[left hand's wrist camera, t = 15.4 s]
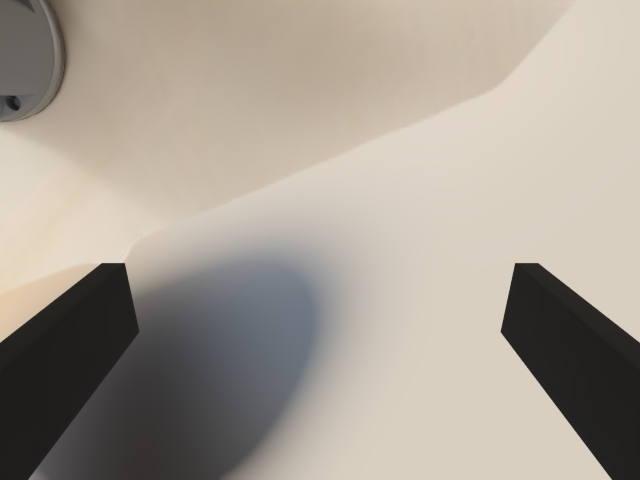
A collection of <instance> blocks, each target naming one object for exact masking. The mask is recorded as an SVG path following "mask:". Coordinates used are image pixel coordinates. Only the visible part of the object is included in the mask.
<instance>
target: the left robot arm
mask: <svg viewBox="0 0 640 480" xmlns="http://www.w3.org/2000/svg"><path fill="white" fill-rule="evenodd" d="M64 65H65V50H64V42H63V36H62V32H61V29H60V25H59V22H58V20H57V17H56V14H55V12H54V10H53V8H52V6H51V4H50V2H49V0H0V122H7V121H16V120H21V119H25V118H28V117H30V116H33V115H35V114H36V113H38V112H40V111H41V110H42V109H43V108H45V107H46V106H47V105H48V104H49V103H50V102H51V100H52V99H53V98H54V96H55V94H56V93H57V91H58V89H59V86H60V84H61V81H62V77H63V73H64ZM138 333H139V328H138V323H137V319H136V314H135V309H134V305H133V300H132V295H131V290H130V286H129V281H128V276H127V272H126V267H125V263H102V264H100V265H99V266H98V267H96V268H95V269H94V270H93V271H91V272H90V273H89V274H88V275H86V276H85V277H84V278H82V279H81V280H80V281H79V282H77V283H76V284H75V285H73V286H72V287H71V288H70V289H68V290H67V291H66V292H65V293H63V294H62V295H61V296H59V297H58V298H57V299H56V300H54V301H53V302H52V303H50V304H49V305H48V306H47V307H45V308H44V309H43V310H42V311H40V312H39V313H38V314H36V315H35V316H34V317H33V318H31V319H30V320H29V321H28V322H26V323H25V324H24V325H22V326H21V327H20V328H18V329H17V330H16V331H15V332H13V333H12V334H11V335H10V336H8V337H7V338H6V339H4V340H3V341H2V342H1V343H0V480H28V479H29V478H30V476H31V475H32V474H33V472H34V471H35V470H36V468H37V467H38V466H39V464H40V463H41V462H42V460H43V459H44V458H45V456H46V455H47V454H48V452H49V451H50V450H51V449H52V447H53V446H54V445H55V443H56V442H57V441H58V439H59V438H60V437H61V435H62V434H63V433H64V431H65V430H66V429H67V427H68V426H69V425H70V423H71V422H72V421H73V419H74V418H75V417H76V415H77V414H78V413H79V411H80V410H81V409H82V407H83V406H84V405H85V403H86V402H87V401H88V399H89V398H90V397H91V395H92V394H93V393H94V391H95V390H96V389H97V387H98V386H99V385H100V383H101V382H102V381H103V380H104V378H105V377H106V375H107V374H108V373H109V372H110V370H111V369H112V368H113V366H114V365H115V364H116V362H117V361H118V360H119V358H120V357H121V356H122V354H123V353H124V352H125V350H126V349H127V348H128V346H129V345H130V344H131V342H132V341H133V340H134V338H135V337H136V336H137V334H138ZM501 333H502V334H503V336H504V337H505V338H506V340H507V341H508V342H509V344H510V345H511V346H512V348H513V349H514V350H515V352H516V353H517V354H518V356H519V357H520V358H521V360H522V361H523V362H524V364H525V365H526V366H527V368H528V369H529V370H530V372H531V373H532V374H533V376H534V377H535V378H536V380H537V381H538V382H539V383H540V385H541V386H542V388H543V389H544V390H545V392H546V393H547V394H548V395H549V397H550V398H551V399H552V401H553V402H554V403H555V405H556V406H557V407H558V409H559V410H560V411H561V413H562V414H563V415H564V417H565V418H566V419H567V421H568V422H569V423H570V425H571V426H572V427H573V429H574V430H575V431H576V433H577V434H578V435H579V437H580V438H581V439H582V441H583V442H584V443H585V444H586V446H587V447H588V448H589V450H590V451H591V452H592V454H593V455H594V456H595V458H596V459H597V460H598V462H599V463H600V464H601V466H602V467H603V468H604V470H605V471H606V472H607V474H608V475H609V476H610V478H611V479H612V480H640V343H639V342H638V341H637V340H636V339H634V338H633V337H632V336H630V335H629V334H628V333H627V332H625V331H624V330H623V329H622V328H620V327H619V326H618V325H616V324H615V323H614V322H613V321H611V320H610V319H609V318H607V317H606V316H605V315H604V314H602V313H601V312H600V311H599V310H597V309H596V308H595V307H593V306H592V305H591V304H590V303H588V302H587V301H586V300H584V299H583V298H582V297H581V296H579V295H578V294H577V293H576V292H574V291H573V290H572V289H570V288H569V287H568V286H567V285H565V284H564V283H563V282H561V281H560V280H559V279H558V278H556V277H555V276H554V275H552V274H551V273H550V272H549V271H547V270H546V269H545V268H544V267H542V266H541V265H540V264H538V263H515V267H514V272H513V276H512V281H511V286H510V291H509V295H508V300H507V305H506V309H505V314H504V319H503V323H502V328H501Z"/></svg>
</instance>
